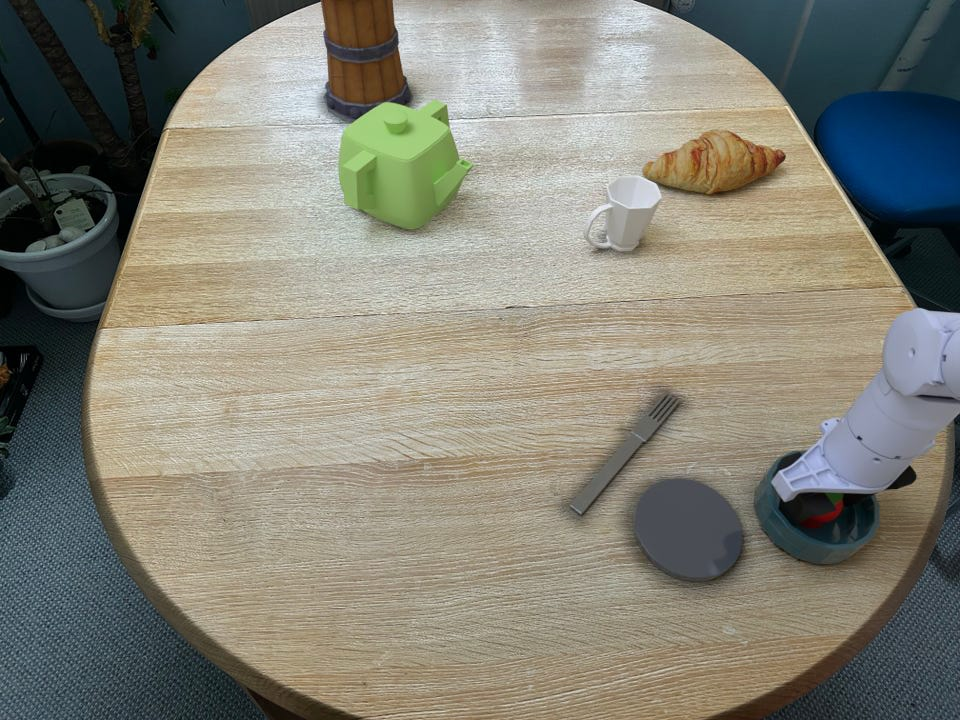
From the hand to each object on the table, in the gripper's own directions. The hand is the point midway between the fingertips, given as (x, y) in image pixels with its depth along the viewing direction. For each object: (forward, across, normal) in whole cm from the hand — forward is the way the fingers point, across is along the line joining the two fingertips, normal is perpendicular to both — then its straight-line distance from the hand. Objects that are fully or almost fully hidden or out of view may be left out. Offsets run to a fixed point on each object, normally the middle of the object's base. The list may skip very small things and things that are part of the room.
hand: (814, 506), depth 63 cm
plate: (+2, +12, -2) cm, 12 cm away
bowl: (+2, 0, 0) cm, 2 cm away
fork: (+2, +13, -12) cm, 18 cm away
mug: (+2, +24, -88) cm, 91 cm away
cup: (+2, +1, -41) cm, 41 cm away
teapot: (+2, +24, -57) cm, 62 cm away
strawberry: (+2, 0, 0) cm, 2 cm away
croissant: (+2, -19, -50) cm, 54 cm away
